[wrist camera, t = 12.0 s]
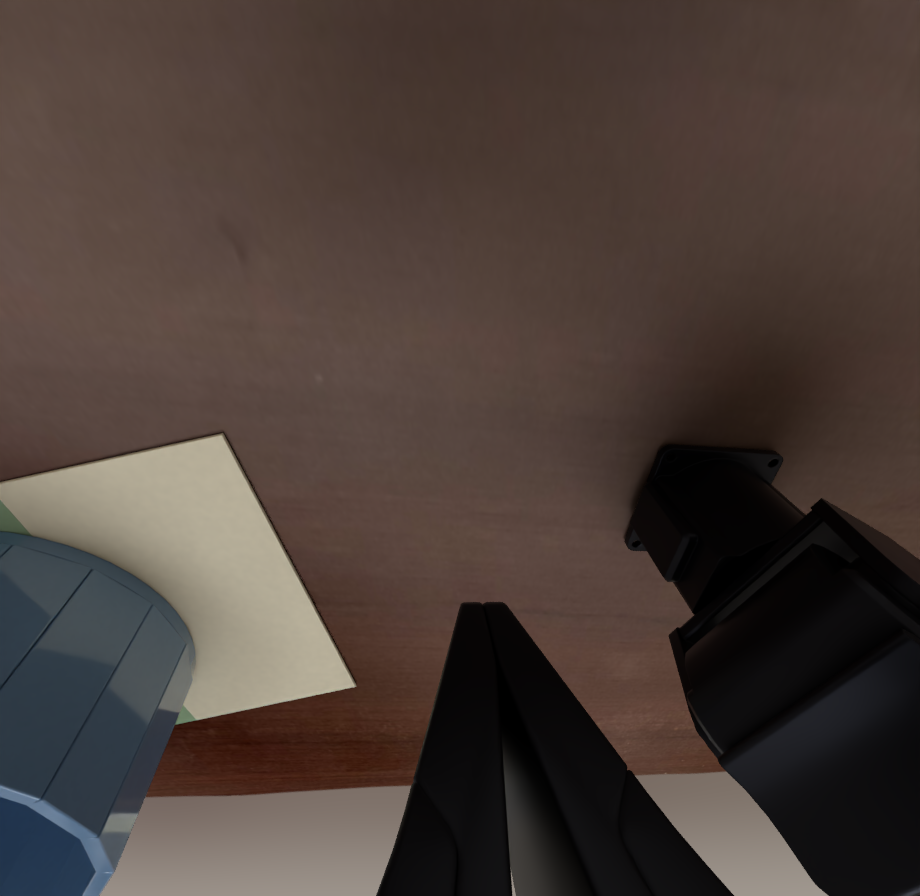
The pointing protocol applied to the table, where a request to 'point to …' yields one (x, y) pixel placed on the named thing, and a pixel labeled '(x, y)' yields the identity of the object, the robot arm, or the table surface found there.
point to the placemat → (193, 565)
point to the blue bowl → (79, 711)
